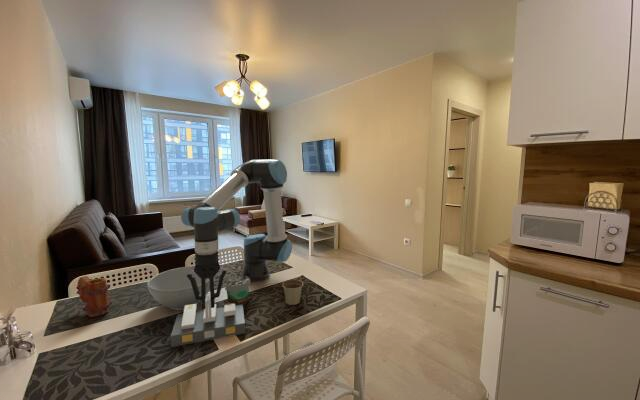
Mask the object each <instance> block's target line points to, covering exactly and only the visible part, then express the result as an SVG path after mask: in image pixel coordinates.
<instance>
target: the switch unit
mask: <svg viewBox="0 0 640 400" xmlns="http://www.w3.org/2000/svg"><path fill="white" fill-rule="evenodd" d="M235 308H236V315H230V316H224V307H216V320H215V321H211V322H205V323H203V316H204V310H205V309H202V310H196V317H195V326H194V328H188V329H181V324H182V319H183V313H177V314H176V319H175V321H174V324H173V328H172V331H171V333H170V346H171V348H174V347H179V346H184V345H190V344H194V343H195V344H197V343H201V342H206V340H207V341H211V340H217V339H222V338H227V337H234V336H237V335H242V334H246V321H245V314H244V313H245V312H244V305H243V304H242V305H236V306H235Z"/></svg>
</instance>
